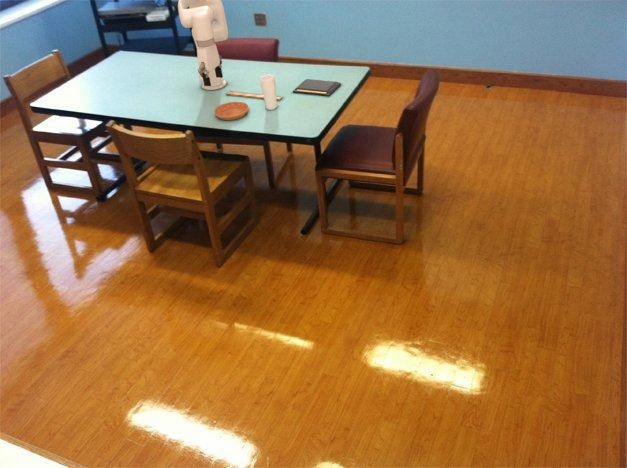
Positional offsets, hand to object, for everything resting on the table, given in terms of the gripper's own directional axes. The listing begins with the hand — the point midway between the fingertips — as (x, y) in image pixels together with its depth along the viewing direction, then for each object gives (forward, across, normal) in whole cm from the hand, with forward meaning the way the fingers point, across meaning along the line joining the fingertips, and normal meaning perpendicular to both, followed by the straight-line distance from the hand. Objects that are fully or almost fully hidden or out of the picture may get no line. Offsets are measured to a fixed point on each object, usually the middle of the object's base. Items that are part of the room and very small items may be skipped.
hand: (213, 81), depth 261 cm
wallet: (+20, -45, +28) cm, 56 cm away
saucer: (+20, -9, 0) cm, 22 cm away
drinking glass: (+20, -20, +15) cm, 32 cm away
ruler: (+19, -30, 0) cm, 35 cm away
